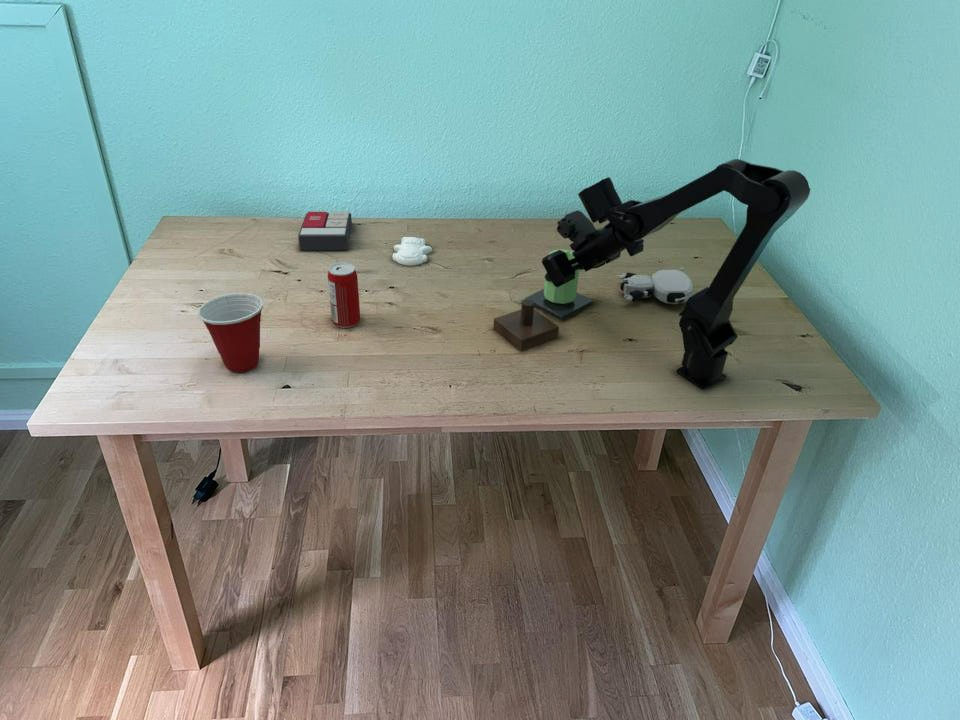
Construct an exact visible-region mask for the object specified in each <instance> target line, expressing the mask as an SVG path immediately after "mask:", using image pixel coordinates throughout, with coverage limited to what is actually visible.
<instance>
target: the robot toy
mask: <svg viewBox="0 0 960 720" xmlns="http://www.w3.org/2000/svg"><path fill="white" fill-rule="evenodd" d="M684 270H685V267H681V268H678V269H659V270H658V271H656V272H654V273H653V274H652V276H649V275H644V274H637V273H633V272H626V273H625V272H621V273H619V274H618V276H617V277H618V279H620V280H623V281H622V282H621V284H620V285H619V288H620V291H621V292H622V293H623V294H624V295H623V300H625V301H626V302H638V301H641V300H643V299H644V298H645V299H646V298H650V297H653V296H654V298H656V299H658V301H660V302H662V303H664V304H670V305H678V304H684V303H686V302H687V300H688V299H689V297H691V296H692V295H693V287H694V285H693V281H692V280H691V278H690V277H689V275H687V274H686V273H685V272H683V271H684Z"/></svg>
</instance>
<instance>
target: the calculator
mask: <svg viewBox="0 0 960 720" xmlns="http://www.w3.org/2000/svg"><path fill="white" fill-rule="evenodd" d="M352 218H353V217H352V213H351V212H349V211H329V212H328V211H307V212H306V213H305V216H304V219H303V220H302V224H301V227H300V230H299V232H298V236H297V239H298V246H299V247H298V249H299V251H348V249H349V243H350V236H351V232H352V231H351V230H352V227H353V221H352Z"/></svg>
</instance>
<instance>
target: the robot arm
mask: <svg viewBox="0 0 960 720" xmlns="http://www.w3.org/2000/svg"><path fill="white" fill-rule="evenodd" d="M722 192H726V193H729V194H730V195H731V196H732V197H733V198H735V199H736V200H737V201H738V202H739V203H741V204H744V205H746V206H747V207H746V218H745V224H744V226H743V228H742V230H741V232H740V233H739V235H738V237H737V238H736V241H735V242H734V244H733V246H732V247H731V249H730V250H729V252H728V254H727V256H726V257H725V259H724V261H723V262H722V264H721V266H720V267H719V269H718V271H717V273H716V274H715V276H714V278H713V280H712V281H711V283H710V285H709V286H706V287H705V288H702V289H701V290H699V291H697V292H696V293H693V294H692V295H691V297H689V299H688V300H687V301H686V302H685V306H684V308H683V310H682V311H680V312H678V316H679V317H680V318H679V322H678V327H679V328H680V331H681V335H682V342H683V350H684V352H683V356H682V360H681V366H679V367H678V368H676V370H675V372H676V373H677V374H678V375H679V376H681V377H683V378H684V379H685V380H686V381H689V382H690V383H692V384H693V385H694V386H696V387H697V388H699V389H701V390H706V389H708V388H710V387H712V386H714V385H716V384H718V383H721V382H722V381H724V380H726V379H727V375H726V374H724V373H723V372H724V368H725V365H726V362H727V359H728V355H729V352H728V351H727V350H726V348H728V347H729V346H732V344H734V342H735V341H736V340H737V339H738V334H737V332H736V330H735V329H734V327H733V325H732V322H731V321H730V318H731V315H732V313H733V309H734V305H733V304H734V299H735V296H736V295H737V293H738V292H739V290H740V288H741V287H742V285H743V283H744V282H745V280H746V278H747V277H748V275H749V274H750V272H751V271H752V269H753V267H754V266H755V264H756V263H757V261H758V260H759V258H760V256H761V255H762V253H763V252H764V250H765V248H766V247H767V246H768V244H769V242H770V240H771V239H772V238H773V235H775V233H776V232H777V230H778V229H780V228H781V227H782V226H783V225H784V224H785V223H786V222H787V221H789V219H790V218H792V217H793V216H794V214H795V213H796V212H797V211H798V210H799V209H800V208H801V207H802V206H803V205H804V204H805V203H806V202H807V200H808V198H809V196H810V193H811V188H810V185H809V181H808V179H807V178H806V176H805V175H803V174H802V173H801V172H799V171H797V170H794V169H793V170H792V169H788V170H782V169H779V168H776V167H773V166H766V165H761V164H755V163H751V162H748V161H747V160H743V159H740V158H734V159H731V160H728V161H726V162H724V163H721V164H718V165H717V166H716V167H715V168H714V169H712V170H711V171H708V172H707V173H705V174H703V175H701V176H700V177H698V178H696V179H694V180H692V181H690V182H688V183H687V184H685V185H683V186H681V187H679V188H677V189H675V190H674V191H672V192H670V193H668V194H665V195H660V196H658V197H654V198H651V199H647V200H645V201H640V200H635V199H629V200H627V201H625V202H623V201H622V200H621V197H620V196H619V194H618V192H617V190H616V188H615V186H614V182H613V181H612V179H611V177H610V176H608V177H604V178H603V179H601V180H600V181H598V182H596V183H594V184H591V186H589V187H588V186H587V187H585V188H583V189H582V190H581V191H580V192H579V193H578V194H577V195H578V197H579V200H580V202H581V203H582V205H583V207H584V209H585V212H586V213H587V215H588V217H589V218H588V217H587V216H586V214H584V213H583V211H581V210H574V211H572V212H569V213H567V214H565V215H564V217H562V218H560V219H561V220H558V221H557V227H556V232H557V233H558V234H559V235H560V236H561V238H563V239H568V240H569V241H571V242H572V243H570V244H569V248H570V250H571V251H573V252H572V255H573V256H574V257H575V258H573V259H571V260H569V259H568V257H567V255H566V254H565V252H563V251H561V250H559V249H557V250H558V251H556V252H554V253H551V254H549V253H548V254H549V255H548V254H546V256H544V257H543V258H542V259H541V264H542V266H543V268H544V270H545V275H544V280H545V279H546V281H551V282H552V283H553V285H554V286H555V287H560V286H562V285H564V284H566V283H568V282H570V281H571V280H573V279H575V271H576V270H578V269H579V271H582V270H583V271H584V272H585V273H586V272H589V271H590V270H593V269H598V268H600V267H603V266H605V265H607V264H610V263H612V262H614V261H616V260H618V259H620V257H621V253H622V252H624V251H625V250H626V251H627V253H628V256H629V257H634V256H636V255H638V254H641V253H642V252H644V247H645V246H644V243H645V239H643V238H646V237H648V236H650V235H652V234H655V233H656V232H659V231H661V230H663V228H665V227H666V226H667V225H668V224H670V223H671V222H672V221H674V219H675V218H677V216H678V215H680V214H681V213H683V212H685V211H687V210H689V209H691V208H693V207H694V206H696V205H699V204H701V203H702V202H704V201H706V200H708V199H710V198H712V197H714V196H716V195H718V194H721V193H722ZM607 221H608V223H607V224H605V225H604V226H601V227H599V228H598V229H597V228H596V227H595V226H594V224H595V223H597V222H598V224H600V225H602V224H603V223H605V222H607ZM576 263H578V264H577V265H574V264H576ZM572 265H574V266H572ZM546 271H547V273H546Z"/></svg>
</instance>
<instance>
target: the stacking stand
mask: <svg viewBox="0 0 960 720" xmlns="http://www.w3.org/2000/svg"><path fill="white" fill-rule="evenodd" d="M520 306H521V308H520V309H519V310H515V311H512V312H509V313H506V314H504V315H501V316H497V317H495V318H493V327H492V328H493V330H494V332H496V333H497V334H499V335H500V336H501V337H503V338H504V339H505V340H506V341H508V342H509V343H510V344H511V345H512V346H514V347H516V348H517V349H518V350H519V351H521V352H523V351H526V350H528V349H531V348H533V347H536V346H540V345H542V344H544V343H547V342H549V341H553V340H554V339H558V338H559V331H560V326H559V325H558V324H556V323H555V322H553V321H552V320H551V319H549V318H548V317H546V316H545V315H543V314H542V313H540V312H539V311H537V309H535V307H534V301H533V300H530V299H526V298H524V299H523V300H522V301H521V305H520Z"/></svg>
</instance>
